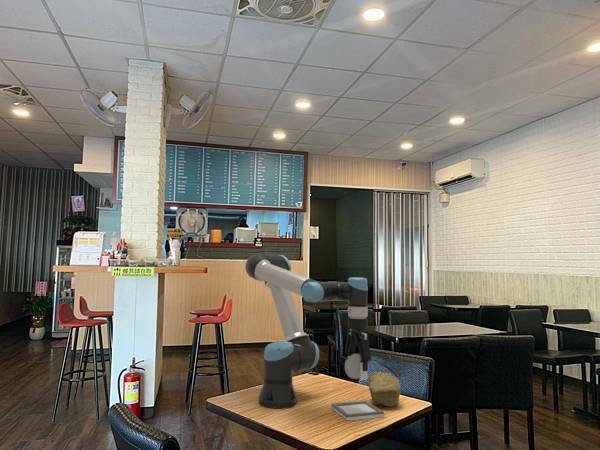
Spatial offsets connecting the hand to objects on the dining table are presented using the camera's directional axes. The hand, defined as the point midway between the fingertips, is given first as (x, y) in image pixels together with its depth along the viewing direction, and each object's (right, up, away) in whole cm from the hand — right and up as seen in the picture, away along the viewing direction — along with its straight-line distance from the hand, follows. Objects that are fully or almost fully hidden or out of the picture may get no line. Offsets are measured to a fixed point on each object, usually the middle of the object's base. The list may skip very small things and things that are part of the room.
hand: (357, 376), depth 169 cm
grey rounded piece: (0, -1, 0) cm, 1 cm away
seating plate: (0, -13, -1) cm, 13 cm away
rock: (+13, -15, +11) cm, 22 cm away
